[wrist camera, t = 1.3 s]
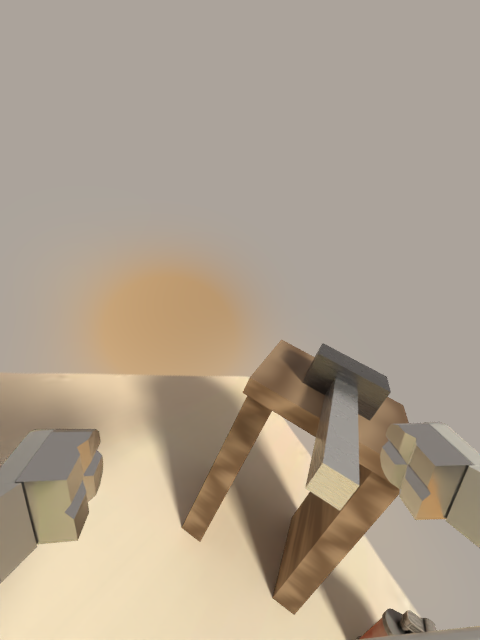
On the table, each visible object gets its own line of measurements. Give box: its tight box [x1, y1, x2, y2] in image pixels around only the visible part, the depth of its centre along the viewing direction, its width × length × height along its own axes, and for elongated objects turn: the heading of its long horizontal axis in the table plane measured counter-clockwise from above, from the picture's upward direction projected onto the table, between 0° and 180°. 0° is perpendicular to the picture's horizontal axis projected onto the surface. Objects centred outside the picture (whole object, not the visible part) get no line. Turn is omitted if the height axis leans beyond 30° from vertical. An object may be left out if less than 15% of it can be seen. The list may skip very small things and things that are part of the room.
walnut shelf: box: [182, 340, 409, 614], centre depth 39 cm, size 18×14×26 cm
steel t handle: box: [303, 344, 390, 511], centre depth 27 cm, size 8×18×4 cm, turn 158°
